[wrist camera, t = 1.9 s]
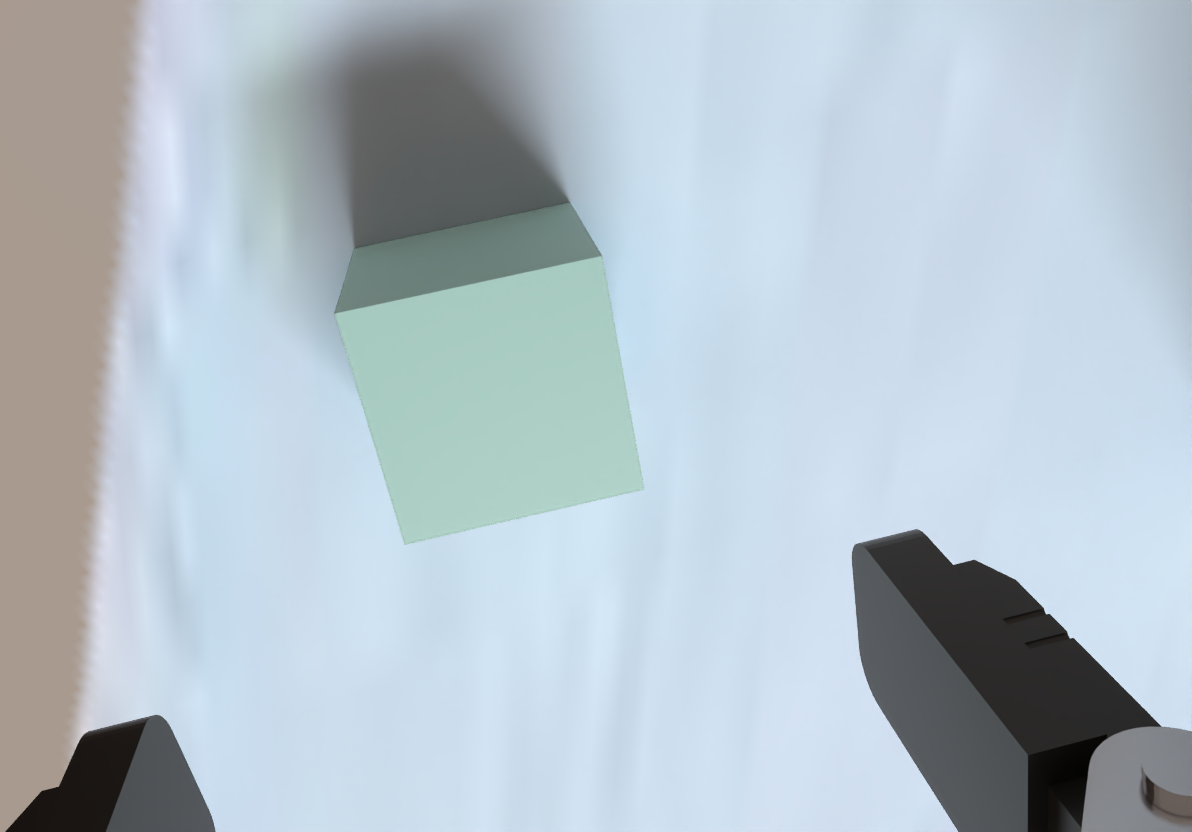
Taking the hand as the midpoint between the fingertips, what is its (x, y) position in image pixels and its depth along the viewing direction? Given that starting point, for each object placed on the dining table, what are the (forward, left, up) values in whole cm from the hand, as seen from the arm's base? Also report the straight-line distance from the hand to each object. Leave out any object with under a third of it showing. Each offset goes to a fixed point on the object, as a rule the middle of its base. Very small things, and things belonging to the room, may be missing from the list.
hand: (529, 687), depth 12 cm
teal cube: (0, 0, -14) cm, 14 cm away
